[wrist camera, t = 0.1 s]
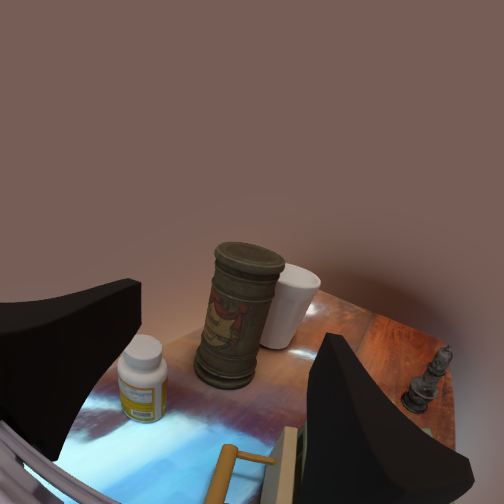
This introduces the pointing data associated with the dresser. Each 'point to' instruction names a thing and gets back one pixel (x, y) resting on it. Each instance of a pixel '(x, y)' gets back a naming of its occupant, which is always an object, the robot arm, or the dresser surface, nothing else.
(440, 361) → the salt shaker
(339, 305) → the dresser surface
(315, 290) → the cup
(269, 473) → the drawer
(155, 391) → the supplement bottle
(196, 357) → the container
